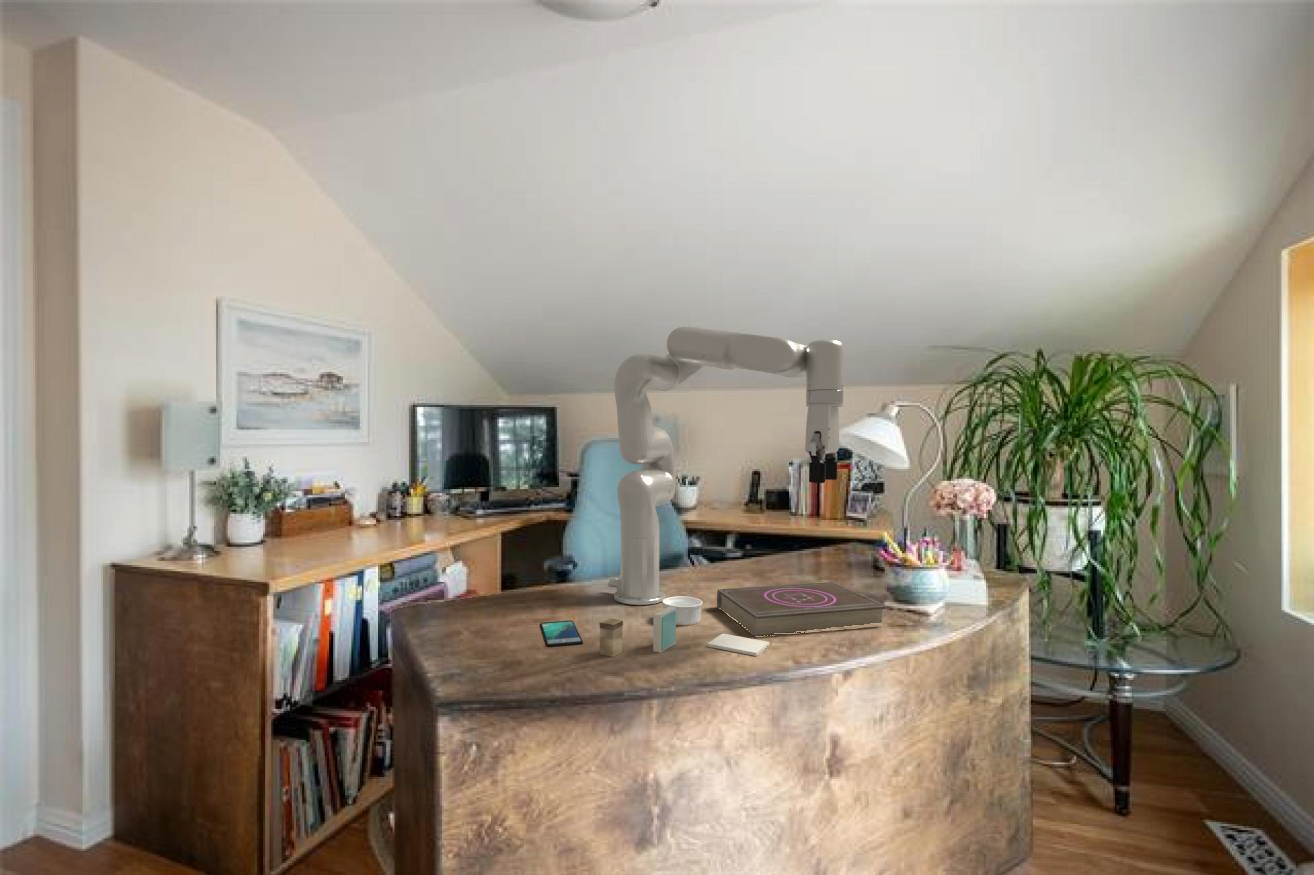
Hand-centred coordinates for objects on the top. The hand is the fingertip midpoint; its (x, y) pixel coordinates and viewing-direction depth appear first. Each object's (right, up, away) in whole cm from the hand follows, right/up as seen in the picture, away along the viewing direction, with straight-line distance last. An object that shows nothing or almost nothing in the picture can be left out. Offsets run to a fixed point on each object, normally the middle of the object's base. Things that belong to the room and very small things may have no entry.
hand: (823, 481), depth 133 cm
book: (-3, -32, +9) cm, 33 cm away
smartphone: (-55, -32, -4) cm, 63 cm away
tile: (-34, -31, -12) cm, 47 cm away
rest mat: (-19, -31, -11) cm, 38 cm away
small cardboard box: (-44, -31, -15) cm, 56 cm away
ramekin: (-30, -31, +6) cm, 43 cm away
